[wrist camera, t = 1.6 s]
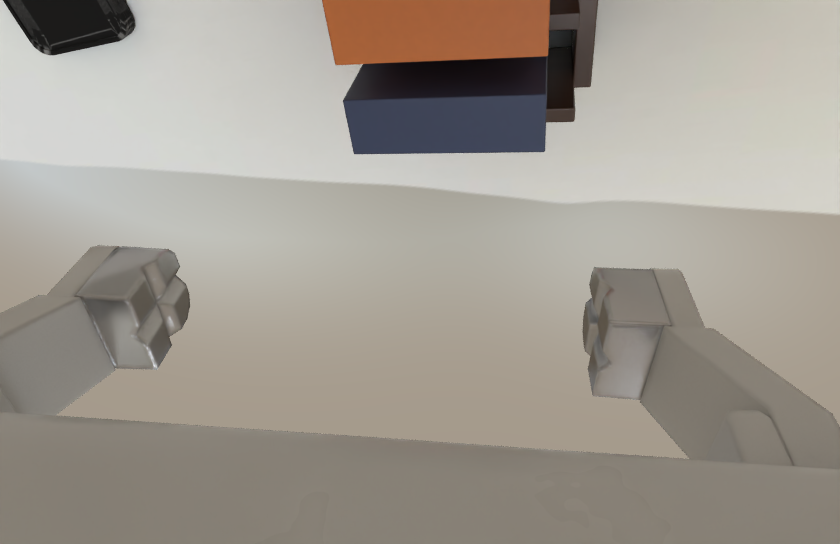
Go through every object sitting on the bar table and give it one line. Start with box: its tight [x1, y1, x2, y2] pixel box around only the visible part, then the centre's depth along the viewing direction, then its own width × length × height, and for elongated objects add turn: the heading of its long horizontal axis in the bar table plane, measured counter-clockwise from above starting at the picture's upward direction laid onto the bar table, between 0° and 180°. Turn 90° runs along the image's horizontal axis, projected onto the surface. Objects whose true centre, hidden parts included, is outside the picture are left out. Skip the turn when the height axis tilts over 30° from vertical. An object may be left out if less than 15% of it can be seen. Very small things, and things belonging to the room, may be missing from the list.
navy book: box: [343, 56, 547, 154], centre depth 32 cm, size 3×9×13 cm, turn 96°
